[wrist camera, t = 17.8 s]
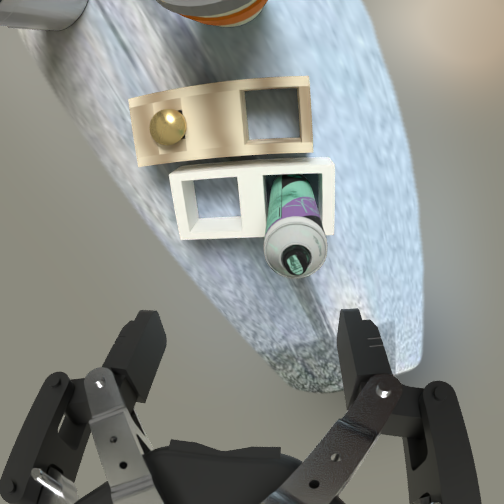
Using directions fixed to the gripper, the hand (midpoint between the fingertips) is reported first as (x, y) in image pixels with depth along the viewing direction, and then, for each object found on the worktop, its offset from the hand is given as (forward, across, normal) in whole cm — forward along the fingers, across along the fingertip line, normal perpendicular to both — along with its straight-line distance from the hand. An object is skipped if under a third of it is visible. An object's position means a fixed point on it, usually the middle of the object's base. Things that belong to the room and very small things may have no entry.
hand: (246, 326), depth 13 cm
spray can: (+30, -3, +4) cm, 31 cm away
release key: (+30, +11, -7) cm, 33 cm away
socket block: (+31, +5, -7) cm, 32 cm away
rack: (+30, +2, +4) cm, 31 cm away
